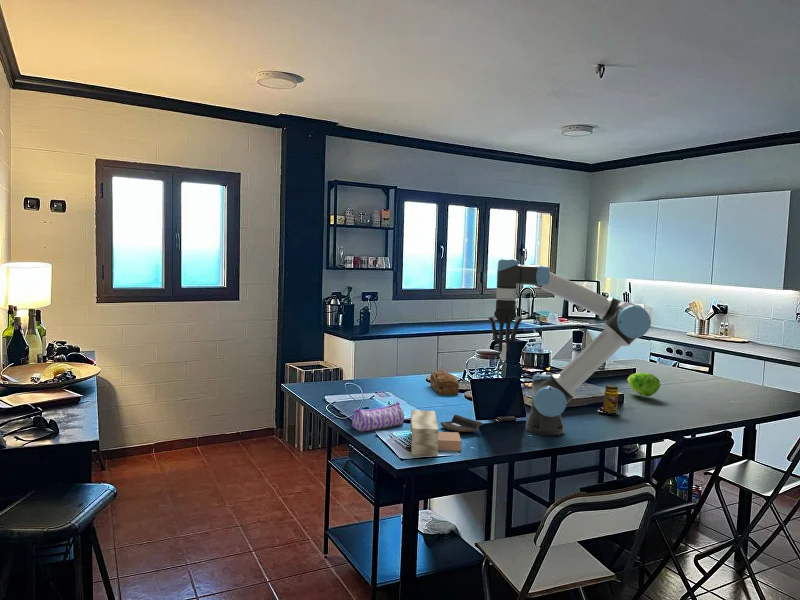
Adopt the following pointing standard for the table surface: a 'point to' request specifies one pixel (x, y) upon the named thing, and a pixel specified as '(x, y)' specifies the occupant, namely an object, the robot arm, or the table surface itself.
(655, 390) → the green mango
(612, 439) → the table surface
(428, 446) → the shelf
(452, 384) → the bread
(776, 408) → the table surface
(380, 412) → the pencil case
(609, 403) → the condiment
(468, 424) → the pottery fragment
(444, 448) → the tile
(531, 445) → the table surface
